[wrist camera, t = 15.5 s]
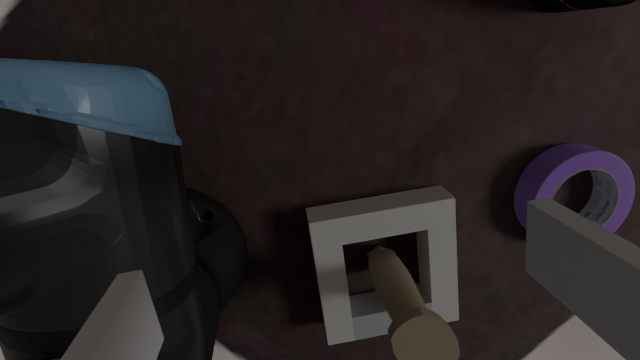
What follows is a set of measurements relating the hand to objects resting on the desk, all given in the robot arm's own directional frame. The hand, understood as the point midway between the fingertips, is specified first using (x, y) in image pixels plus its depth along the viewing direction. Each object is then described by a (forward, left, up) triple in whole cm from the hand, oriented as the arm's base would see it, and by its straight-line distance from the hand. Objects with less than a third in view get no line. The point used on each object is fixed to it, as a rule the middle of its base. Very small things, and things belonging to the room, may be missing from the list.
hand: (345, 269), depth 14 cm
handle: (+7, -17, -29) cm, 34 cm away
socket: (+7, -17, -29) cm, 34 cm away
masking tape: (+29, -13, -29) cm, 43 cm away
